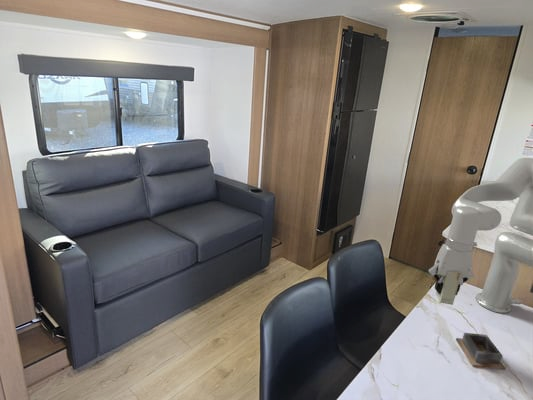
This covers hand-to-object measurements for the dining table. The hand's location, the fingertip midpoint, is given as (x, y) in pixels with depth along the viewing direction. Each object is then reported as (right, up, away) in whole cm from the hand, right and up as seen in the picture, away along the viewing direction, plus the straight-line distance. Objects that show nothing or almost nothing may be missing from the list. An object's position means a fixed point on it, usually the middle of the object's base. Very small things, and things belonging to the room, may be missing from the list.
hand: (445, 291), depth 120 cm
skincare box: (0, -3, +1) cm, 3 cm away
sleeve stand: (+9, -20, -3) cm, 22 cm away
